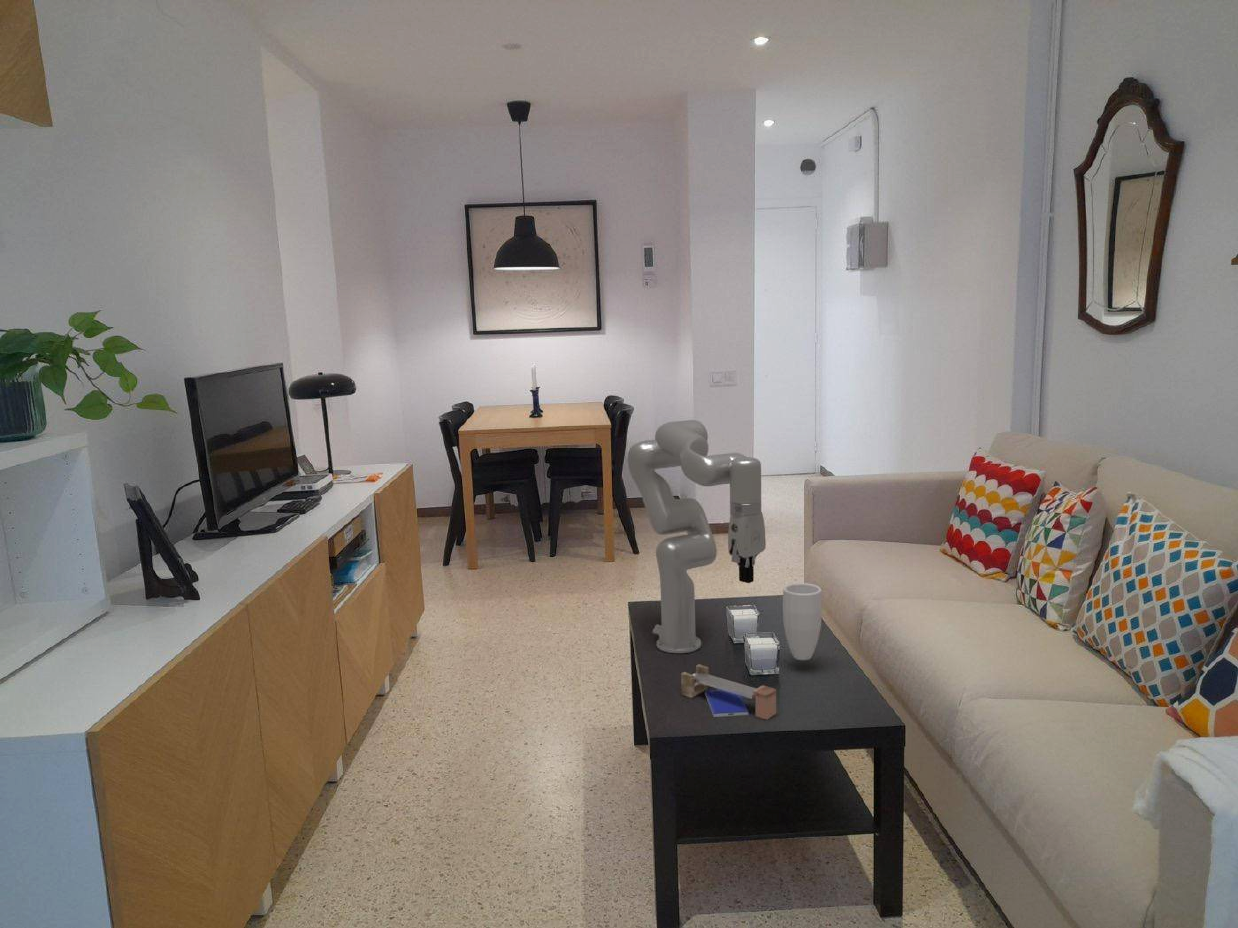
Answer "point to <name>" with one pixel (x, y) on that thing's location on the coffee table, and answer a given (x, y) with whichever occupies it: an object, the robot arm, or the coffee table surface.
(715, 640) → the coffee table surface
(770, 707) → the block
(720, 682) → the grey long flat bar
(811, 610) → the cup
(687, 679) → the pivot bracket
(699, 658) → the coffee table surface
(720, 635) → the coffee table surface
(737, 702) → the hard drive
